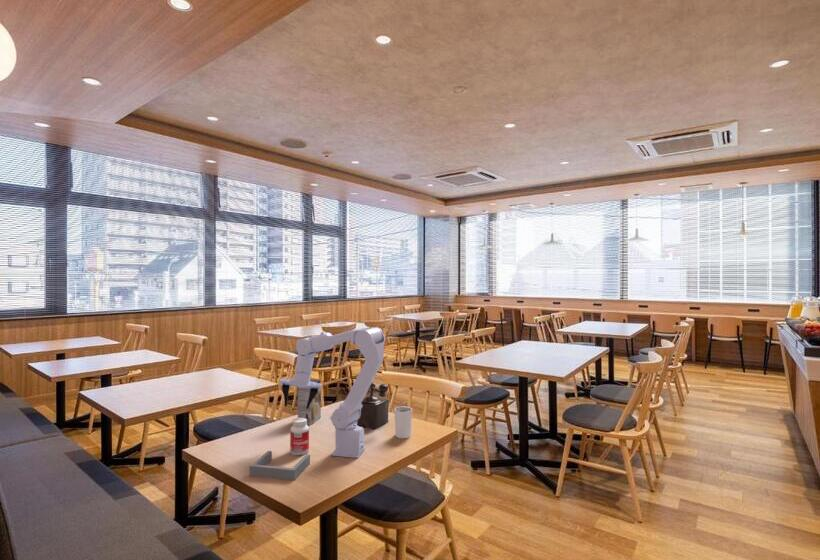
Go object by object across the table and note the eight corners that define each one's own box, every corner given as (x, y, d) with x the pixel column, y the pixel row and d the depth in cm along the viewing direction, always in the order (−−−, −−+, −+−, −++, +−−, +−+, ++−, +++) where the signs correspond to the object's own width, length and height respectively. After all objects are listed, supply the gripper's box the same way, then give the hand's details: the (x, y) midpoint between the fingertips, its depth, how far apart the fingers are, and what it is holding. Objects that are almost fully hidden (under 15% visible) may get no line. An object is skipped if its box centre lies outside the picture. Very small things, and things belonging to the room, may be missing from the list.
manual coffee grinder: (352, 425, 175) (352, 380, 175) (368, 417, 185) (368, 375, 184) (384, 432, 167) (384, 386, 167) (399, 424, 177) (399, 380, 176)
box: (309, 464, 140) (310, 454, 140) (294, 480, 129) (294, 470, 129) (268, 460, 142) (268, 450, 142) (249, 475, 131) (249, 465, 131)
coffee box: (306, 416, 185) (307, 378, 185) (321, 417, 184) (321, 379, 184) (297, 423, 176) (297, 384, 176) (311, 425, 175) (312, 385, 175)
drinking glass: (408, 440, 160) (408, 412, 160) (391, 437, 163) (391, 410, 163) (414, 433, 167) (414, 407, 166) (398, 431, 169) (398, 405, 169)
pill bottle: (291, 457, 145) (292, 423, 145) (288, 450, 150) (288, 418, 150) (310, 454, 147) (310, 421, 147) (306, 447, 153) (307, 415, 153)
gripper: (323, 369, 161) (317, 404, 163) (283, 363, 158) (277, 399, 160) (323, 376, 154) (316, 412, 156) (281, 370, 151) (275, 407, 153)
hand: (296, 406), depth 157 cm, fingers open, 7 cm apart
